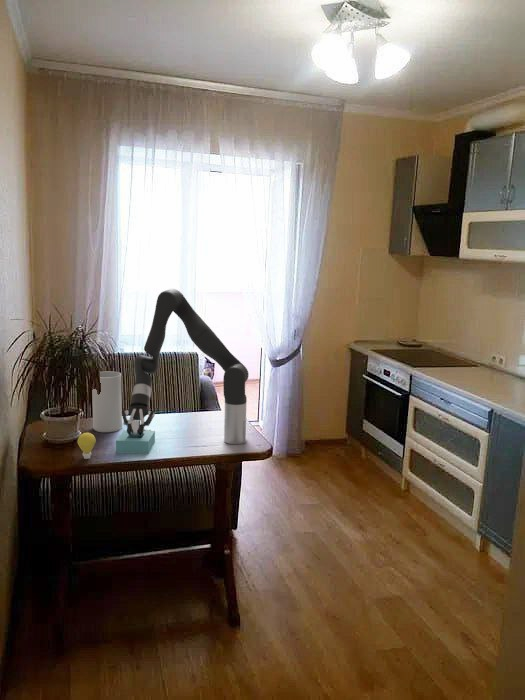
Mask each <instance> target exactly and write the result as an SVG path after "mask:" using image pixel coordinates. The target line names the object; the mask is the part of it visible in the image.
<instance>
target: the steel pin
mask: <svg viewBox="0 0 525 700" xmlns="http://www.w3.org/2000/svg"><path fill="white" fill-rule="evenodd" d="M140 425H141V420H140V419H132V420H131V438H140V435H139V429H140Z"/></svg>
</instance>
